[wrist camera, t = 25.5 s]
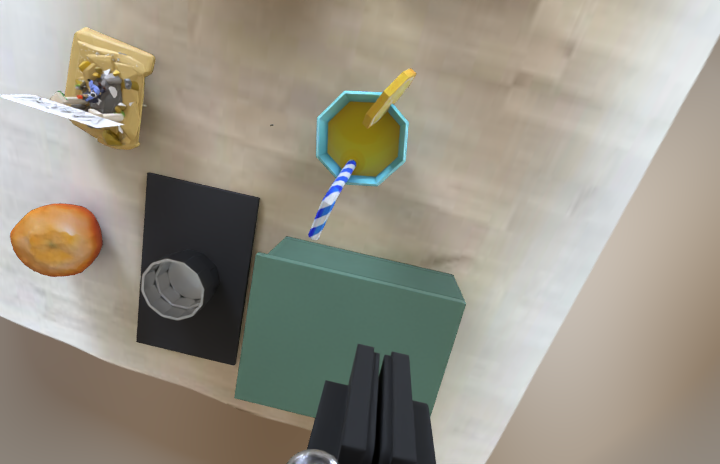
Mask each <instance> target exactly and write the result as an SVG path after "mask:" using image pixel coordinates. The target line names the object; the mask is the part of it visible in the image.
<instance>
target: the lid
mask: <svg viewBox="0 0 720 464" xmlns="http://www.w3.org/2000/svg"><path fill="white" fill-rule="evenodd" d="M465 306H466V303H465V300H461V299H457V298H452V297H448V296H444V295H440V294H435V293H431V292H427V291H422V290H418V289H414V288H410V287H405V286H401V285H397V284H393V283H388V282H384V281H380V280H376V279H371V278H367V277H363V276H358V275H354V274H350V273H346V272H341V271H337V270H333V269H329V268H324V267H320V266H316V265H311V264H307V263H303V262H299V261H294V260H290V259H286V258H282V257H277V256H273V255H269V254H265V253H260V252H258V253H257V254H256V256H255V263H254V269H253V276H252V283H251V290H250V296H249V303H248V310H247V316H246V323H245V330H244V337H243V343H242V350H241V357H240V363H239V370H238V377H237V384H236V390H235V397H234V398H236V399H240V400H244V401H248V402H252V403H256V404H260V405H265V406H269V407H273V408H277V409H281V410H285V411H289V412H293V413H297V414H301V415H305V416H309V417H313V418H315V417H316V414H317V410H318V406H319V402H320V399H321V395H322V391H323V387H324V384H325V381H326V380H327V381H331V382H336V383H340V384H344V385H348V384H349V379H350V375H351V371H352V366H353V362H354V358H355V353H356V349H357V345H358V344H362V345H367V346H371V347H374V352H376V353H380V362H379V374H380V370H381V366H382V362H383V358H384V355H391V352H392V351H393V352H397V353H402V354H406V355H409V359H410V373H411V387H412V400H414V401H418V402H423V403H427V404H428V407H429V413H430V416H431V413H432V410H433V407H434V404H435V400H436V397H437V394H438V391H439V388H440V385H441V381H442V378H443V375H444V372H445V369H446V366H447V363H448V359H449V356H450V353H451V350H452V347H453V344H454V340H455V337H456V334H457V331H458V328H459V325H460V321H461V318H462V315H463V312H464V309H465Z"/></svg>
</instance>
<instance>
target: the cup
mask: <svg viewBox="0 0 720 464" xmlns="http://www.w3.org/2000/svg"><path fill="white" fill-rule="evenodd" d="M415 75H416V73H415V72H414V71H413V70H412V69H411V68H410V69H408V70H405V71H403V72H402V73H401V74H400V75H399V76H398V77H397V78H396V79H395V80H394V81H393V82H392V83H391V84H390V85H389V86H388V87H387V88H386V89H385V90H384V91H383V92H361V91H344V92H343V93H342V94H341V95H340V96H339V97H338V98H337V99H336V100H335V101H334V102H333V103H332V104H331V105H330V106H329V107H328V108H327V109H326V110H325V111H324V112H323V113H322V114H321V115H320V116H319V117H317V139H316V157H317V158H318V159H319V160H320V161H321V163H322V164H323V165H324V166H325V167H326V168H327V169H328V170H329V171H330V172H331V174H332V175H333V176H334V177H335V178H336V179H335V181H334V182H333V184H332V185H331V187H330V188H329V190H328V192H327V193H326V195H325V197H324V198H323V200H322V203H321V205H320V207H319V210H318V212H317V215H316V217H315V220H314V222H313V224H312V227H311V229H310V232H309V234H308V235H309V237H310V238H311V239H313V240H317V239H319V236H320V234H321V232H322V230H323V228H324V226H325V223H326V221H327V219H328V217H329V215H330V213H331V210H332V208H333V206H334V204H335V201H336V199H337V197H338V195H339V193H340V192H341V190H342V188H343V187H344V185H345V184H346V185H363V186H378V185H380V184H381V183H382V182H383V181H384V180H385V179H386V178H388V177H389V176H390V175H391V174H392V173H393V172H394V171H395V170H397V169H398V168H399V167H400V166H401V165H402V164H403V163H404V162H406V150H407V137H408V124H409V122H408V121H407V120H406V119H405V118H404V116H403V115H402V114H401V113H400V112H399V111H398V109H397V108H396V107H395V106H394V104H395V103H396V102H397V100H398V99H399V98H400V97H401V96H402V94H403V93H404V92H405V91H406V89H407V88H408V87H409V86H410V84H411V82H412V81H413V79H414V77H415Z"/></svg>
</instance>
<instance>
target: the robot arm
mask: <svg viewBox="0 0 720 464" xmlns="http://www.w3.org/2000/svg"><path fill="white" fill-rule="evenodd" d="M379 362H380V353H376V352H374V347H371V346H367V345H362V344H358V345H357V349H356V353H355V358H354V362H353V366H352V371H351V375H350V379H349V384H348V385H344V384H340V383H336V382H331V381H327V380H326V381H325V384H324V387H323V391H322V395H321V399H320V402H319V406H318V410H317V414H316V417H315V421H314V425H313V429H312V433H311V436H310V440H309V444H308V447H307V450H304V451H301V452H298V453H297V454H296V455H294V456H293V457H291V459H290V460H289V461H288V462H287V464H436V460H435V452H434V444H433V436H432V429H431V421H430V413H429V407H428V404H427V403H423V402H418V401H414V400H412V387H411V373H410V359H409V355H406V354H402V353H397V352H393V351H392V352H391V355H384V358H383V362H382V366H381V370H380V374H379Z"/></svg>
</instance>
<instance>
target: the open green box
mask: <svg viewBox="0 0 720 464" xmlns="http://www.w3.org/2000/svg"><path fill="white" fill-rule="evenodd" d="M268 254H269V255H273V256H277V257H282V258H286V259H290V260H294V261H299V262H303V263H307V264H311V265H316V266H320V267H324V268H329V269H333V270H337V271H341V272H346V273H350V274H354V275H358V276H363V277H367V278H371V279H376V280H380V281H384V282H388V283H393V284H397V285H401V286H405V287H410V288H414V289H418V290H422V291H427V292H431V293H435V294H440V295H444V296H448V297H452V298H457V299H461V300H464V298H463V296H462V294H461V291H460V289H459V287H458V285H457V282H456V280H455V278H454V275H452V274H447V273H443V272H439V271H434V270H430V269H426V268H421V267H417V266H413V265H408V264H404V263H400V262H395V261H391V260H387V259H383V258H378V257H374V256H370V255H365V254H361V253H357V252H352V251H348V250H344V249H339V248H335V247H331V246H326V245H322V244H318V243H314V242H309V241H305V240H301V239H296V238H292V237H288V236H286V237H285V238H284V239H283V240H282V241H281V242H280V243H279V244H278V245H277V246H276V247H275V248H274V249H273V250H271V251H270V252H269V253H268Z"/></svg>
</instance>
